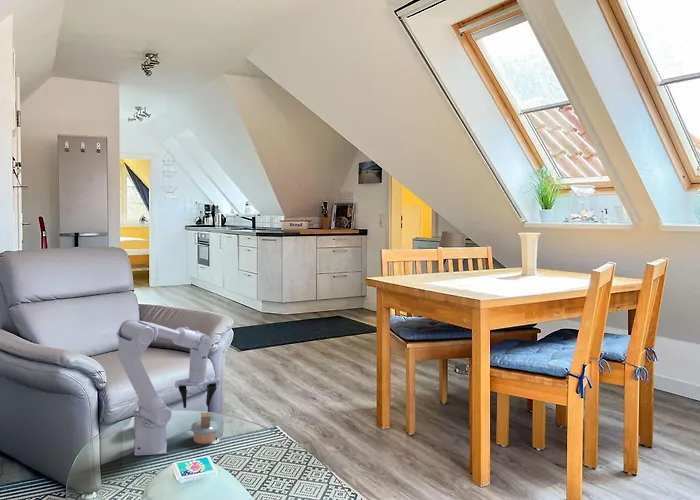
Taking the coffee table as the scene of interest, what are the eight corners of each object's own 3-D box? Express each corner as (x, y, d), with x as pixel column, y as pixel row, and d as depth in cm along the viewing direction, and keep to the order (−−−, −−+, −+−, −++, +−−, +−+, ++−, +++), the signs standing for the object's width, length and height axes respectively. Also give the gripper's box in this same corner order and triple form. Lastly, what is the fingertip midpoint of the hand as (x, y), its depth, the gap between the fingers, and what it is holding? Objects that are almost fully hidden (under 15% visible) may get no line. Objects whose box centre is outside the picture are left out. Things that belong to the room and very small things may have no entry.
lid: (191, 434, 189) (191, 421, 188) (191, 422, 198) (191, 409, 197) (219, 433, 192) (220, 420, 191) (218, 422, 200) (218, 408, 199)
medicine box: (139, 425, 201) (140, 401, 200) (152, 425, 202) (153, 402, 201) (133, 435, 194) (134, 410, 192) (146, 435, 194) (147, 411, 193)
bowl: (194, 444, 191) (194, 433, 190) (192, 435, 197) (193, 424, 197) (215, 443, 193) (216, 431, 193) (213, 433, 200) (214, 422, 199)
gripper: (177, 373, 189) (175, 412, 191) (222, 370, 195) (219, 408, 197) (174, 365, 195) (173, 404, 197) (218, 363, 201) (216, 400, 203)
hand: (196, 405), depth 197 cm, fingers open, 7 cm apart
